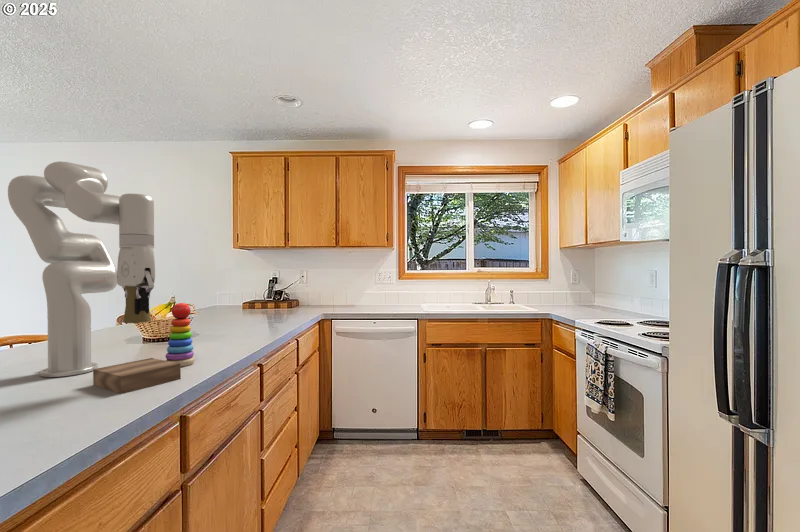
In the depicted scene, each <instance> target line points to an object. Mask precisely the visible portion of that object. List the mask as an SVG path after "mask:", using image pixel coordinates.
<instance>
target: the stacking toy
mask: <svg viewBox="0 0 800 532" xmlns="http://www.w3.org/2000/svg"><path fill="white" fill-rule="evenodd" d="M191 310H192V309H191V306H190V305H189V304H187V303H185V302H179V303H177V304H176V303H175V305H173V307H172V308H171V314H172V316H173V318H174V319H172V320H171V325H172V326H171V327H170V328H169V331H170V333H169V340H168V342H167V345H168V346H167V348H166V352H167V353H165V361H170V362H175V363H180V367H187V366H191V365H193V364H194V363H195V357H194V355H195V354H194V353H195V352H194V351H193V350H194V345H193V339H192V335H193V334H192V332H191V330H192V328H191V326H190V325H191V320H190V319H189V316H190V315H191Z"/></svg>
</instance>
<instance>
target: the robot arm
mask: <svg viewBox="0 0 800 532" xmlns="http://www.w3.org/2000/svg"><path fill="white" fill-rule="evenodd" d="M108 184H109V183H108V178H107V176H106V174H105V173H104V172H103V171H102V170H100V169H99V168H96V167H92V166H87V165H84V164H79V163H73V162H68V161H53V162H51V163H49V164H48V165H46V167H45V168H44V170H43V176H41V175H40V176H39V175H38V176H37V175H30V174H29V175H28V174H26V175H19V176H16V177H13V178H12V179H11V180H10V182H9V183H8V185H7V198H8V202H9V205H10V208H11V209H12V212H13V213H14V214H15V215H16V217H17V218H18V220H19V221H20V222H21V223H22V224H23V227H25V229H26V231H27V233H28V235H29V237H30V240H31V242H32V244H33V246H34V249H35V251H36V253H37V255H38V256H39V258H40V259H41V261H43V262H44V263H46V264H48V265H47V266H46V267H45V268H43V272H42V277H41V278H42V283H43V287H44V288H43V289H44V292H45V296H46V297H45V299H46V308H47V367H45V368H44V369H41V370H40V372H39V374H40V376H41V377H43V378H59V377H68V376H69V377H71V376H77V375H81V374H85V373H90V372H93V369H97V368H99V364H98V363H97V362H92V311H91V310H92V309H91V306H90V304H89V303H88V302H87V300H86V299H85V298H84V296H83V295H84V294H96V293H97V294H99V293H106V292H110V291H111V292H112V291H113V290H114V289H115V288H116V287H117V285H118V287H121V289H123V291H124V298H125V301H126V300H127V294H128V292H127V291H126V289H125V286H136V298H137V299H135V314H137V315H138V314H139V313H140V312H141V311H145V312H146V314H148V313H149V311H150V298H151V293H152V292H151V291H153V289H155V283H156V263H155V262H156V261H155V253H154V249H155V204H154V202H155V201H154V199H153V197H151V196H149V195H147V194H142V193H123V194H121V195H120V196H119V195H113V194H108V193H105V192H106V191H107V188H108V186H109V185H108ZM47 207H53V208H61V209H67V210H68V212H70V213H72V214H73V215H74V216H76V217H77V218H79V219H82V220H84V221H87V222H90V223H100V224H109V225H110V224H111V225H117V226H118V235H119V236H118V240H119V241H118V246H119V247H118V248H119V251H118V257H117V268H116V266H115V263H114V261H113V260H112V258H111V256H110V254H109V251H108V250H107V248H106V246H105V244H104V243H103V241H102V240H101V239H100V238H99V237H97V236H96V235H93V234H88V233H77V232H71V231H69V230H68V228H67V227H66V225H65V223H64V222H63V220H62V219H61V217H59V216H58V215H57V214H56V213H55V212H54V211H52V210H50V209H49V208H47ZM141 283H145V284H146V285H145V286H139V284H141ZM140 288H142V290H141V291H140Z"/></svg>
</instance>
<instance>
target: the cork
mask: <svg viewBox="0 0 800 532" xmlns="http://www.w3.org/2000/svg"><path fill="white" fill-rule="evenodd" d="M145 285H146V284H145V283H141V284H139V286H145ZM125 289H126V291H127V292H128V294H127V300H126V299H125V308H124V315H123V321H122V322H123V324H140V323H148V322H151V321H152V319H151V318H152V317H151V314H150V313H151V312H150V310H149V313H148V314H146V312H145V311H141V312H140V313H139V314H138V315H137V314H135V299H137V298H136V286H125ZM141 290H142V288H140V291H141Z"/></svg>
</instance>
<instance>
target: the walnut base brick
mask: <svg viewBox="0 0 800 532" xmlns="http://www.w3.org/2000/svg"><path fill="white" fill-rule="evenodd" d="M181 370H182V369H181V367H180V363H175V362H170V361H166V359H165V360H164V359H158V358H153V357H150V358H145V359H138V360H135V361H128V362H124V363H118V364H114V365H108V366H104V367H98V368H97V369H93V371H92V373H93V374H92V375H93V376H92V379H93V380H92V385H93V386H94V387H97V388H101V389H105V390H108V391H112V392H114V393H117V394H118V393H119V394H121V395H122V394H125V393H129V392H133V391H137V390H142V389H146V388H149V387H153V386H157V385H161V384H165V383H169V382H173V381H177V380H181V377H182V376H181Z"/></svg>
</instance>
